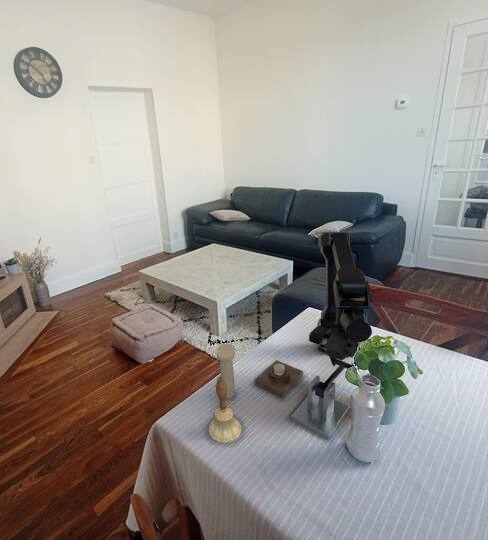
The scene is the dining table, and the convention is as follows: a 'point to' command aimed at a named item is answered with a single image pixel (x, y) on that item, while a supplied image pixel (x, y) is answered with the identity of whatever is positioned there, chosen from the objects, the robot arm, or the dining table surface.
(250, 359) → the dining table surface
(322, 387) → the lever
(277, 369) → the button
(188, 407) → the dining table surface
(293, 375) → the button block
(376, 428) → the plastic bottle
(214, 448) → the dining table surface
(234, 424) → the hand bell
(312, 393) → the bracket
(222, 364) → the handle
